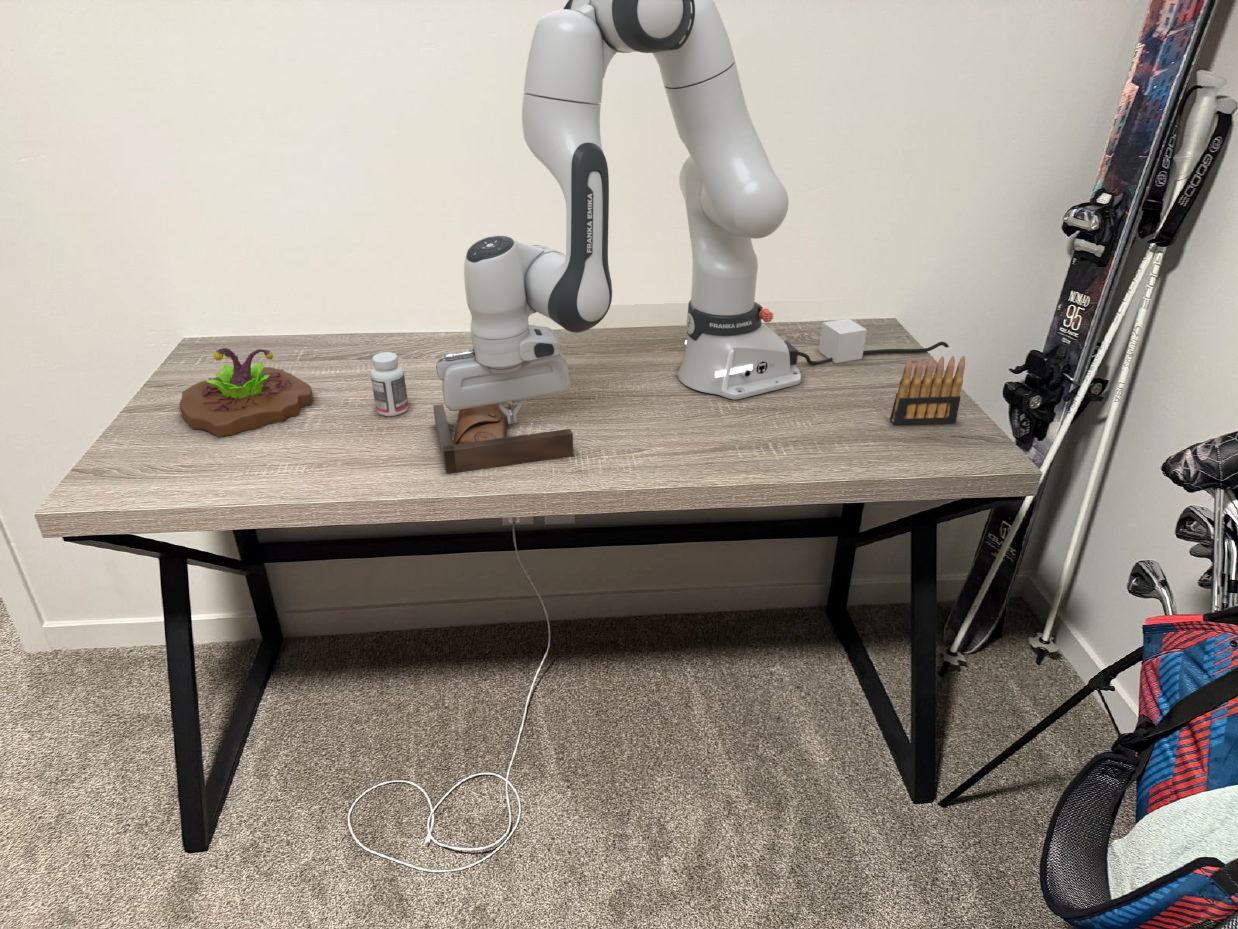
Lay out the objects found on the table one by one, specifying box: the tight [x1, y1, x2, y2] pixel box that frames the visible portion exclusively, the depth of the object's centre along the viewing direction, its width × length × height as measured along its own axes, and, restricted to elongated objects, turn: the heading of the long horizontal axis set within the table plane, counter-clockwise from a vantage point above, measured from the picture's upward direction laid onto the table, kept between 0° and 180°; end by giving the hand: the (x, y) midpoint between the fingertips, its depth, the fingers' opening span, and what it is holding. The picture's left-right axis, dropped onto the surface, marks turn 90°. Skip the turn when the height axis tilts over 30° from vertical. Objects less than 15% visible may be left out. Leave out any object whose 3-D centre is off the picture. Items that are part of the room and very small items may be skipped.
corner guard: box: [432, 404, 574, 475], centre depth 135 cm, size 20×15×4 cm
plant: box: [179, 347, 314, 438], centre depth 143 cm, size 20×20×11 cm
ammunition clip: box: [889, 355, 966, 427], centre depth 140 cm, size 11×2×12 cm, turn 94°
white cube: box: [818, 318, 868, 364], centre depth 164 cm, size 6×6×6 cm
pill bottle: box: [370, 351, 409, 417], centre depth 142 cm, size 5×5×10 cm
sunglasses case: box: [453, 403, 512, 445], centre depth 138 cm, size 18×7×7 cm
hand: (511, 422), depth 139 cm, fingers closed, pressing on sunglasses case
